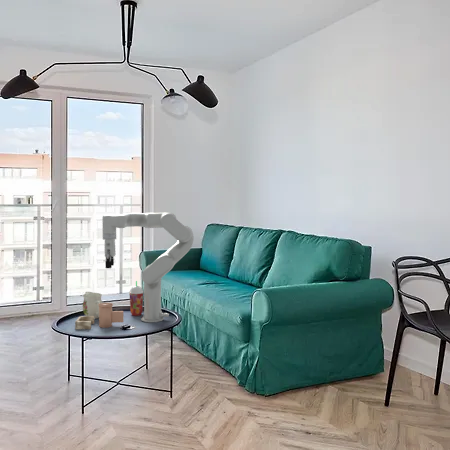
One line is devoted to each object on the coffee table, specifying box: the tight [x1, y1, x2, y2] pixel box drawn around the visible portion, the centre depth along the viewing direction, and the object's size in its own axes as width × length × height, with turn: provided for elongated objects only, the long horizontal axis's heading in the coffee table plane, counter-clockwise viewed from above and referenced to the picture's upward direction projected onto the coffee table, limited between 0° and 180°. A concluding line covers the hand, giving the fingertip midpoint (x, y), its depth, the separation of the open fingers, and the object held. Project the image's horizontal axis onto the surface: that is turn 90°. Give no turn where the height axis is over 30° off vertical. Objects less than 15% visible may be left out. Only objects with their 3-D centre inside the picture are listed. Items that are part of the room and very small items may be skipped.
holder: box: [74, 315, 95, 330], centre depth 274 cm, size 8×11×4 cm
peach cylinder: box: [98, 302, 125, 329], centre depth 275 cm, size 13×8×12 cm, turn 95°
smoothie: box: [128, 280, 144, 317], centre depth 299 cm, size 8×8×20 cm
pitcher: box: [82, 291, 103, 320], centre depth 291 cm, size 11×18×14 cm, turn 39°
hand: (109, 266), depth 286 cm, fingers open, 9 cm apart
